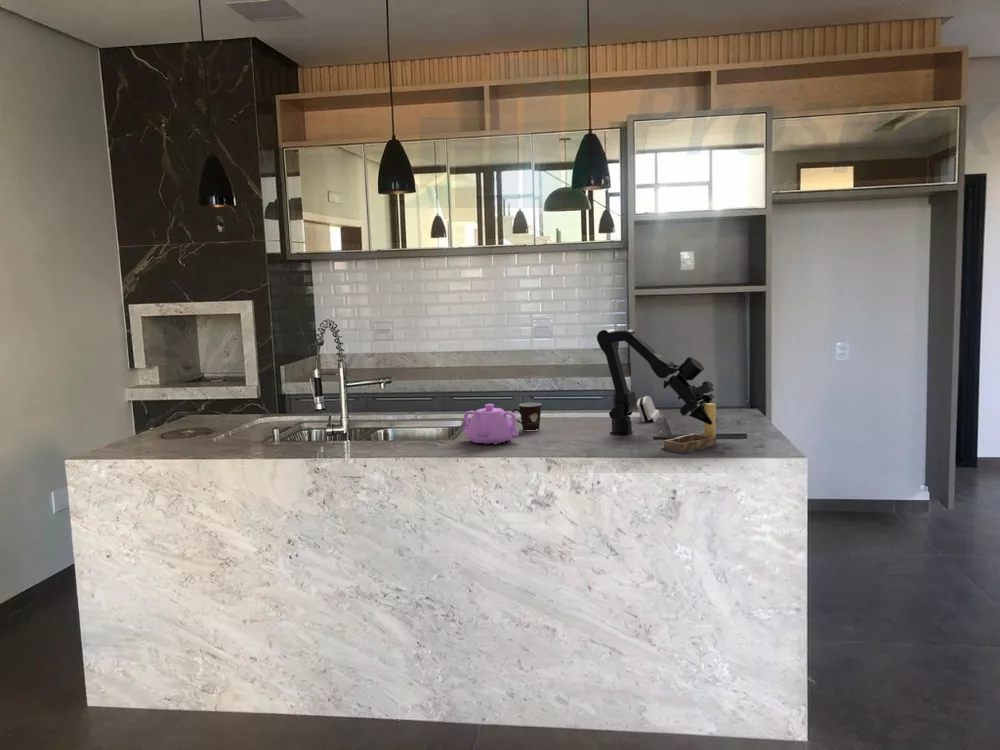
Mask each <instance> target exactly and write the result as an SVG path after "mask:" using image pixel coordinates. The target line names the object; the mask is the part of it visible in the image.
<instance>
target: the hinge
mask: <svg viewBox="0 0 1000 750" xmlns="http://www.w3.org/2000/svg"><path fill="white" fill-rule="evenodd" d="M637 401H638V402H636V408H637V410H638V413H639V416H640V419H641V422H643V423H644V422H647V421H650V420H652V421H653V423H656V422H657V420H658V419H659V417H660V416H659V414H660V415H661V413H659V412H660V410H659V409H656V407H655V404H654V402H653V399H652V397H651V396H649V395H646V396H644V397H642V396H641V397H640V398H638V399H637Z"/></svg>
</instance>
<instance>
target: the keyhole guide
mask: <svg viewBox="0 0 1000 750" xmlns="http://www.w3.org/2000/svg"><path fill="white" fill-rule="evenodd" d="M716 439H717V436H716V437H711V436H706V435H704V434H700V433H690V434H686V435H685V434H684V435H681V436H680V435H679V436H677V437H674V438H670V439H665V440H663V446H661V447H660V449H661V450H664V449H665V450H664V451H668V452H669V451H670V452H673V451H674V452H673V453H677V452H678V454H683V455H684V454H690V453H693V452H697V450H698V451H701V449H702V450H705V448H707V449H710V448H709V447H711V448H714V447H713V446H715V447H717V446H718V444H717V441H716Z"/></svg>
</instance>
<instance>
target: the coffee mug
mask: <svg viewBox="0 0 1000 750" xmlns="http://www.w3.org/2000/svg"><path fill="white" fill-rule="evenodd" d="M518 407H519V409H518V408H514V409H513V410H511V412H512V413H514V412H516V411H517V412H519V414H520V420H521V421H520V420H519V419H516V423H517V422H518V423H519V424H521V426H522V430H523V429H524V430H536V429H539V430H540V427H541V426H540V425H541V415H542V414H541V412H542V411H541V410H542V403H539V402H525V403H524V402H523V403H520V404H518Z"/></svg>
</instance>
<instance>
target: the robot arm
mask: <svg viewBox="0 0 1000 750" xmlns="http://www.w3.org/2000/svg"><path fill="white" fill-rule="evenodd" d="M596 341H597V343H598V346H599V348H600V350H601V351H602V352H603V353H604V355H605V357H606V358H605V359H606V361H607V365H608V369H609V373H610V377H611V380H612V384H613V388H614V399H613V401H614V407H613V409H611V410H610V411H609V412H608V416H609V418H610V419H611V431H609V434H612V435H621V436H626V435H628V434H632V433H633V432H634V431H633V430H632V429H633V428H632V427H633V425H632V420H631V416H632V415H633V411H634V410H636V408H637V402H638V399H637V398H636V393H635V391H631V390H630V389H629V387H628V384H627V380H626V377H625V373H624V369H623V365H622V361H621V358H620V354H619V346H620V342H626V343H627V344H628V345H629V346H630V347H631V348H632V349H633V350H634V351H636V353H637V354H639V355H640V356H641V357H642V358H643V359H644V360H645V361H646V362H647V363H648V364H649V366H650V368H651V370H652V371H653V372H654V374H655V375H656V377H658V378H660V379H666V378H668V379H666V380H663V389H668V388H669V387H670V388H671V390H672V391H674V393H675V394H676V395H677V396H678V397H677V399H678V400H680V401H682V402H683V403H684V405H683V406H681V407H680V409H679V413H680V415H681V416H682V417H683V418H684V417H686V416H687V415H688V417H691V418H694V419H696V420H699V421H701V422H703V423H704V422H705V423H707V424H709V425H711V424H712V421H711V420H710V418H709V417H708V415H707V414H706V413H705V411H704V404H706V403H712V402H713V400H714V399H715V396H714V395H713V394H712V393H711V392H714V390H715V389H714V384H713V383H712V382H711V381H709V380H706V381H702V384H701V385H700V386H698V387H697V386H696V385H691V384H690V383H689V381H694V380H695V379H696V378H697V377H698V376H699V375H700V374H701V373H703V371H705V367H704V366H703V364H702V363H701V362H700V361H698V360H697V359H695V358H693V357H692V356H687V358H686V359H685V360H684V362H683V363H681V364H676V363H674V362H673V361H672V360H671V359H669V358H667V357H666V356H663V355H660V354H659V353H658V352H656V351H655V349H653V348H652V347H651V346H650V345H649V344H648V343H646V342H645V341H644V339H642V338H641V337H640V336H639V335H638V334H637V333H636V331H635V330H633V329H626V330H625V329H624V330H615V329H614V328H607V329H603V330H599V332H598V333H597V335H596ZM676 373H677V374H676ZM674 374H676V375H674ZM688 413H689V414H688ZM717 421H718V419H717V418H716V422H717Z"/></svg>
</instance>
